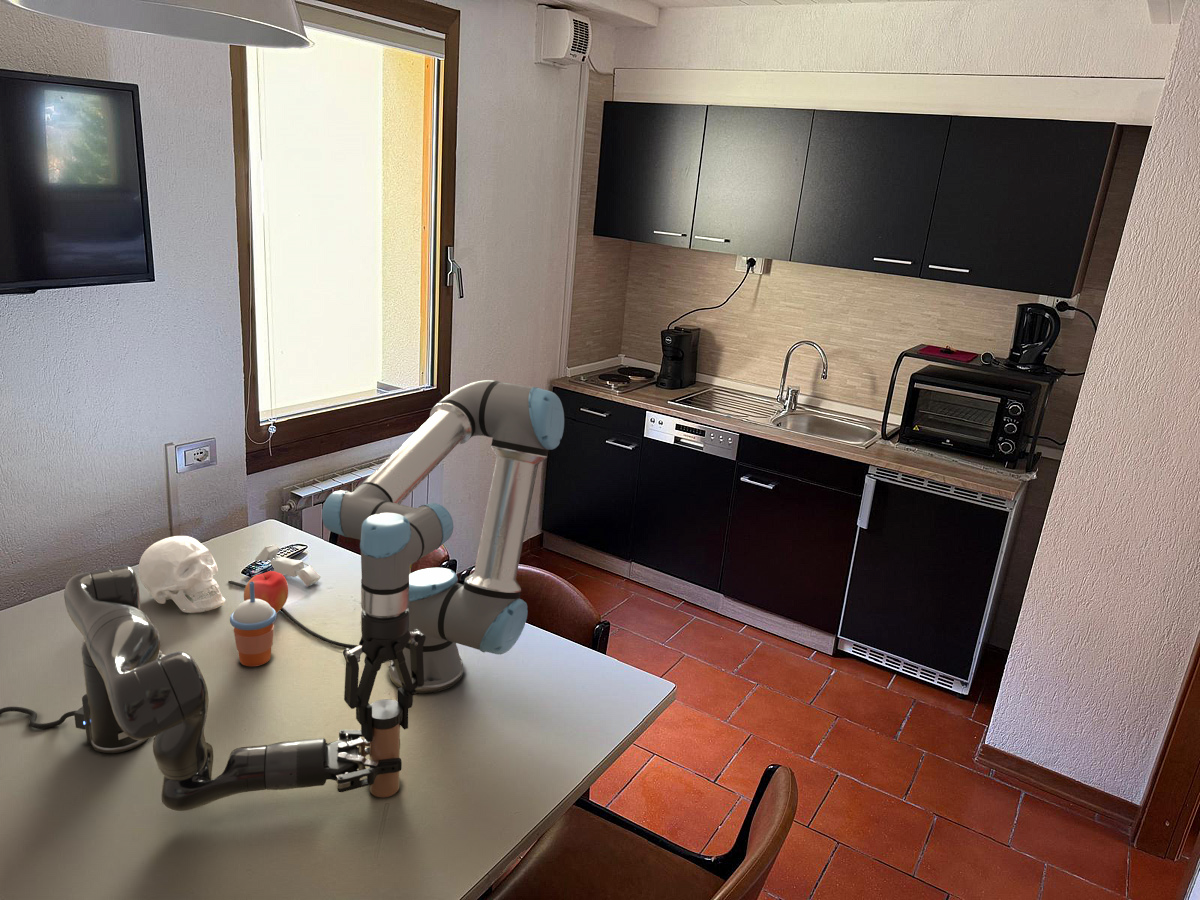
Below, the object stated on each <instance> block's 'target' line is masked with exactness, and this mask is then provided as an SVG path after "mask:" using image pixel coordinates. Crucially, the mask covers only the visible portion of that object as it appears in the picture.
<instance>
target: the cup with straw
mask: <svg viewBox="0 0 1200 900" xmlns="http://www.w3.org/2000/svg"><path fill="white" fill-rule="evenodd" d="M249 584H250V599H249V600H246V601H244V600H243V601H242V602H240V603H239V604H238V605H237V606H236V608H235V609H234V610H233V612H232V613H230V616H229V623H230V625H231V626H232V627H233V635H234V641H235V646H236V650H237V653H238V658H239V659H238V660H239V662H240V663H241V665H243V666H246V667H259V666H262V665H264V664H266V663H268V662H269V661H270V660H271V657H272V647H273V644H274V629H275V625H274V623H275V621H276V620H277V617H278V616H277V613H276V611H275V610H274V609H273V608H272V607H271V606H270V605H269V604H268V603H267V602H266V601H264V600H261V599H255V592H254V582H250V583H249Z"/></svg>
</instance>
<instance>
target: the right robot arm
mask: <svg viewBox="0 0 1200 900" xmlns="http://www.w3.org/2000/svg"><path fill="white" fill-rule="evenodd" d="M564 429H565V412H564V407H563V403H562V401H561V399H560V397H559V396H558V395H557V394H556V393H555V392H553V391H551V390H547V389H544V388H541V387H540V388H539V386H538V387H537V386H529V385H521V384H517V383H516V384H515V383H509V382H503V381H498V380H493V379H486V380H484V379H483V380H478V381H473V382H470V383H468V384H466V385H463V386H462V387H461V386H460V387H459V388H457V389H455V390H453V391H452V392H450V393H449V394H446V396H444V397H443V398H442V399H440V400H439V401H438V402H437V403H436V404H435V405H434V406H433V407H432V408H431V410H430V413H429V418H428V419H427V420H426V421H425V422H424V423H423V424H421V426H420V427H418V429H416V430H415V432H413V434H411V435H410V436H409V437H408V438H407V439H406V440H405V441H404V442H403V443H402V444H401V445H400V446H399V447H398V448H397V449H396V450H395V451H393V452H392V454H391V455H390V456H388V457H387V458H386V459H385V460H384V461H383V462H382V463H381V464H380V465H379V466H378V467H377V468H376V469H375V470H374V471H373V472H372V473H371V474H370V475H369V476H368V477H367V478H365V479H364V481H363V482H362V483H361V484H360V485H358V486H357V487H356V488H355V489H354V490H353V491H349V490H336V491H333V492H331V493H330V494H329V495H328V496H327V497H326V500H325V501H324V503H323V506H322V510H321V519H322V523H323V526H324V527H325V528H326V530H328V531H329V532H332V533H335V534H337V535H340V536H342V537H344V538H351V539H355V540H358V541H359V549H360V565H361V566H360V567H361V580H360V605H361V606H360V607H361V612H360V614H361V615H360V626H361V627H360V630H361V631H360V632H361V638H360V640H359V642H358V644H350V643H345V642H340V641H336V640H333V639H330V638H327V637H326V636H323V635H321V634H320V633H317V632H315V631H313V630H312V629H310V628H308V627H307V626H306V625H304V624H302V623H301V622H300V621H298V620H297V618H295V617H294V616H292V615H291V613H289V612H288V611H287V610H286V609H285V608H284V606H283V607H282V608H281V610H280V611H279V612H281V613H282V614H284V616H286V617H287V618H288V619H289V620H290V621H291V622H292V623H293V624H294V625H296V626H297V627H298V628H299V629H301V630H302V631H304V632H305V633H307V634H309V635H311V636H312V637H314V638H316V639H318V640H320V641H323V642H325V643H327V644H330V645H333V646H336V647H341V648H344V649H343V651H342V655H343V658H344V660H345V670H344V671H345V673H344V674H345V676H344V691H343V692H344V693H343V694H344V695H343V700H344V703H346V704H347V706H348V707H349V708H350V709H351V710H354V709H355V720H356V721H357V722H358V723H359V725H360V730H361V734H362V736H363V739H366V741H367V742H370V741H372V706H371V705H370V704H371V703H369V702H370V698H371V695H372V692H373V688H374V685H375V682H376V678H377V674H378V672H379V671H380V670H381V668H382V664H385V663H386V662H388V661H389V662H390V664H389V679H390V681H391V682H392V683H393V684H394V685H395V686H396V687H398V688H397V690H396V692H397V694H396V695H397V697H396V699H397V700H396V701H398V702H399V703H400V704H401V705H402V707H403V719H402V721H401V722H400V728H402V729H403V730H404V731H405V730H408V729H409V709H411V708H413V705H414V696H416V694H430V693H431V694H432V693H438V692H441V691H445V690H447V689H450V688H451V687H453V686H455V685H456V684H457V683H458V682H459V681H460V680H461V679H462V676H463V672H464V664H463V660H462V657H461V656H460V653H459V649H458V646H457V644H458V645H462V646H465V647H468V648H472V649H475V650H478V651H480V652H482V653H490V654H493V655H503V654H505V653H507V652H509V651H510V650H511V649H512V648H513V647H514V646H515V644H516V643H517V641H518V640H519V639H520V636H521V635H522V632H523V630H524V628H525V626H526V623H527V619H528V612H529V610H528V608H529V607H528V604H527V602H526V601H524V600H523V599H521V593H522V587H521V586H520V584H519V583H518V581H517V574H518V570H519V565H520V560H521V555H522V551H523V544H524V539H525V534H526V530H527V525H528V519H529V514H530V509H531V505H532V499H533V493H534V488H535V483H536V478H537V473H538V470H539V469H538V468H539V465H540V464H541V463H543V461H545V460H546V459H548V455H549V452H550V450H551V451H552V450H556V449H557V447H559V445H560V443H561V440H562V438H563V435H564ZM478 436H481V437H482V436H484V437H486V438H492V440H491V445H490V448H491V449H492V451H493V453H494V454H495V456H496V458H495V463H494V468H493V474H492V478H491V483H490V489H489V494H488V498H487V503H486V510H485V515H484V518H483V519H484V520H483V525H482V530H481V535H480V540H479V545H478V550H477V555H476V561H475V565H474V570H473V572H472V573H470V574H469V575H468V576H466V577H465V578H464V582H463V584H462V583H458V580H459V579H458V575H457V573H456V572H455V571H454V570H452V569H450V568H445V567H428V568H421V569H418V570H416V571H413V572H411V574H409V573H410V565H411V564H412V565H413V564H414V563H416V562H418V561H419V560H420V559H422V558H424V557H425V556H427V555H429V554H430V553H432V552H434V551H435V550H438V549H440V548H441V547H442V545H444V544H445V543H446V542H447V541H449V539H450V538H451V537H452V535H453V533H454V528H455V527H454V526H455V525H454V520H453V517H452V515H451V513H450V511H449V510H448V509H447V508H446V507H445V506H443V505H441V504H439V503H437V502H429V503H425V504H421V505H420V506H418V507H413V506H409V505H405V504H402V503H403V502H404V501H405V500H406V499H407V498H408V497H409V496H410V495H411V494H412V493H413V492H414V491H415V490H416V488H417V487H418V486H420V484H421V483H422V482H424V480H425V479H426V478H428V476H429V475H430V474H431V473H432V472H433V471H434V469H435V468H436V467H438V465H439V464H440V463H441V462H442V461H443V460H444V459H445V458H446V457H447V456H448V455H449V454H450V453H451V452H452V451H453V450H454V449H455V448H456V447H457V445H463V444H466V443H467V442H468V441H470V439H471V438H473V437H478ZM227 584H229V585H233V586H236V587H239V588H243V589H245V587H246V585H247V584H245V583H242V582H237V581H234V580H231V581H229V580H228V581H227ZM362 654H364V655H365V657H364V666H363V669H362V672H361V676H360V677H359V675H360V666H359V665H360V664H359V663H360V662H361V655H362Z"/></svg>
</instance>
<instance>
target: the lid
mask: <svg viewBox="0 0 1200 900" xmlns="http://www.w3.org/2000/svg"><path fill="white" fill-rule="evenodd" d="M369 704H370V705H371V706H372V727H374V728H378V729H388V728H392V727H394V726H396V725H398V724H399V723H400V722H401V721H402V719H403V707H402V705H401V704H400V703H399V702H398V701H397V700H395V699H389V698H382V699H378V700H375V701H373V702H371V703H369Z"/></svg>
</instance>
